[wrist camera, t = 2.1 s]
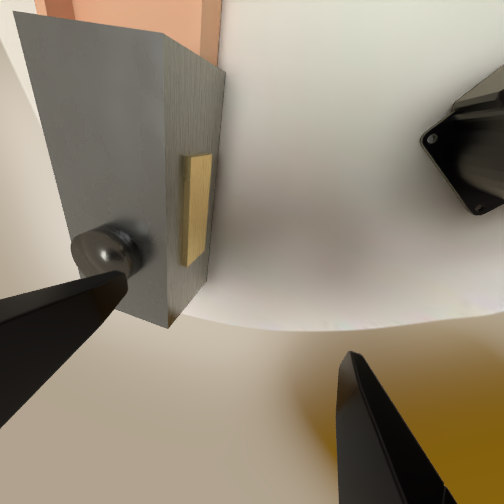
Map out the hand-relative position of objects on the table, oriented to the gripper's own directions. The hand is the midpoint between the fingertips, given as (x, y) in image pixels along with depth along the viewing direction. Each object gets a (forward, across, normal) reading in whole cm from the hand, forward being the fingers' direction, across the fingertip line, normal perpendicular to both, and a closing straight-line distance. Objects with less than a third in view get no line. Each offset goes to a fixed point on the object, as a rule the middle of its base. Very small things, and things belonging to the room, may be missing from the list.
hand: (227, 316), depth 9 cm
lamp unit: (+12, +10, 0) cm, 16 cm away
